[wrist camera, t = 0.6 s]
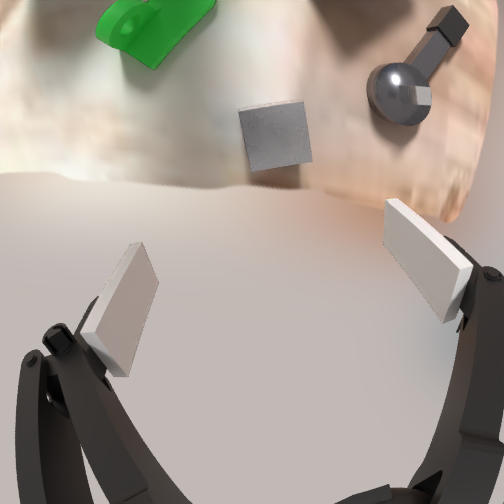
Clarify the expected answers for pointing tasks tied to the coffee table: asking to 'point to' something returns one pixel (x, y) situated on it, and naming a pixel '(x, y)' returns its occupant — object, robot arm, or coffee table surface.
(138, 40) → the mechanical part
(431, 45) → the ladle
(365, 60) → the coffee table surface
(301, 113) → the grey metal block
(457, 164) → the coffee table surface
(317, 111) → the coffee table surface
